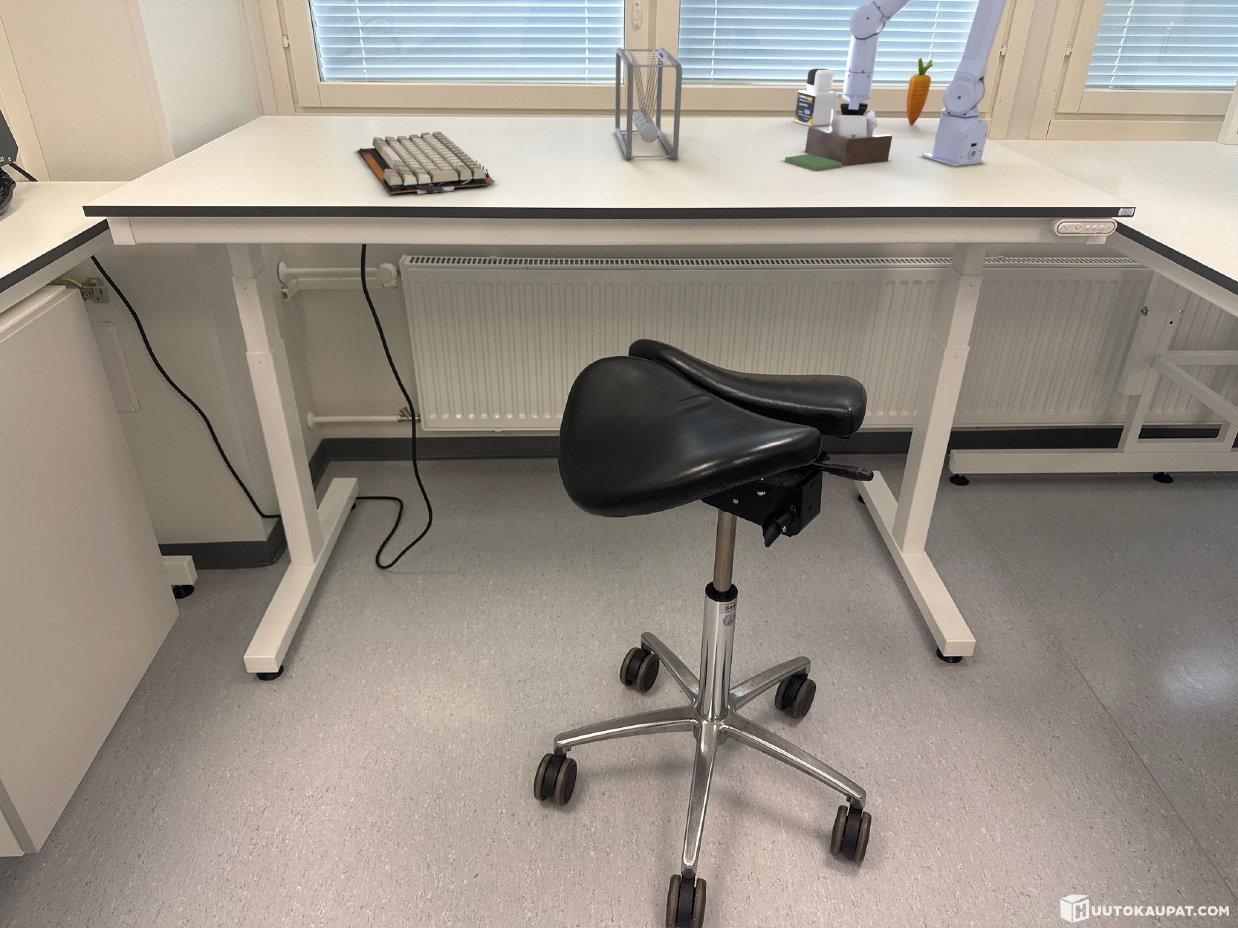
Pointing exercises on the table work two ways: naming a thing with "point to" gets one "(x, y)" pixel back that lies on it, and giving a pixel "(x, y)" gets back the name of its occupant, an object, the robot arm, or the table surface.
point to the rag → (813, 162)
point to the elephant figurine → (853, 125)
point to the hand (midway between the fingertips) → (848, 139)
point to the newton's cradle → (641, 116)
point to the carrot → (918, 92)
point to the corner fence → (848, 147)
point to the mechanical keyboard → (423, 164)
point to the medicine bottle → (817, 99)
